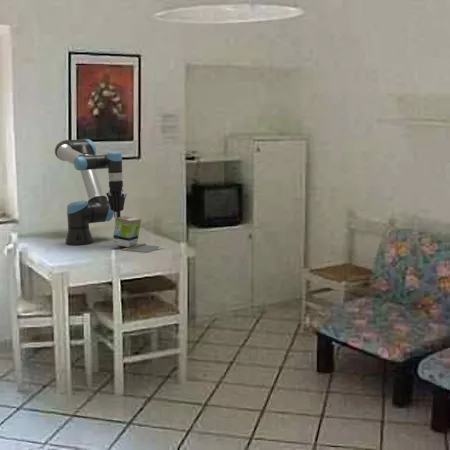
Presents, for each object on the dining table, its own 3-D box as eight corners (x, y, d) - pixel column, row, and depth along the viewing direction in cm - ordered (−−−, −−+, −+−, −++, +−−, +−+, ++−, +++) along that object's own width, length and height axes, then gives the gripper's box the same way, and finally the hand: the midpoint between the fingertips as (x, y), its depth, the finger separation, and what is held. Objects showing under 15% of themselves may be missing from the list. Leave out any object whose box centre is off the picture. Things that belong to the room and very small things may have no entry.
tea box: (129, 247, 408) (133, 220, 407) (111, 244, 410) (115, 217, 408) (137, 244, 423) (141, 218, 421) (120, 241, 425) (124, 215, 423)
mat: (125, 250, 406) (125, 250, 406) (145, 245, 419) (145, 245, 419) (146, 252, 398) (146, 252, 398) (165, 247, 411) (165, 247, 411)
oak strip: (121, 250, 406) (121, 249, 406) (143, 244, 421) (143, 243, 421) (124, 250, 405) (124, 249, 405) (145, 245, 420) (145, 243, 420)
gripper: (102, 180, 414) (104, 223, 417) (119, 181, 407) (121, 225, 410) (111, 179, 420) (113, 221, 424) (129, 180, 413) (130, 223, 417)
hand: (117, 223), depth 417 cm, fingers closed
